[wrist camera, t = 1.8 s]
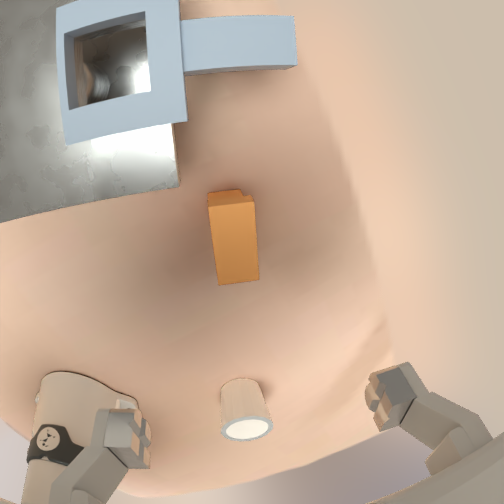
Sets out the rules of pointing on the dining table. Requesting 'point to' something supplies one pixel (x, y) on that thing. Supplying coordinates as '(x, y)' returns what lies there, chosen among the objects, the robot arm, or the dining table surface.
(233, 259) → the orange t-shaped block
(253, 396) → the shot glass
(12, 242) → the dining table surface
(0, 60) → the metal plate
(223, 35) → the bracket
